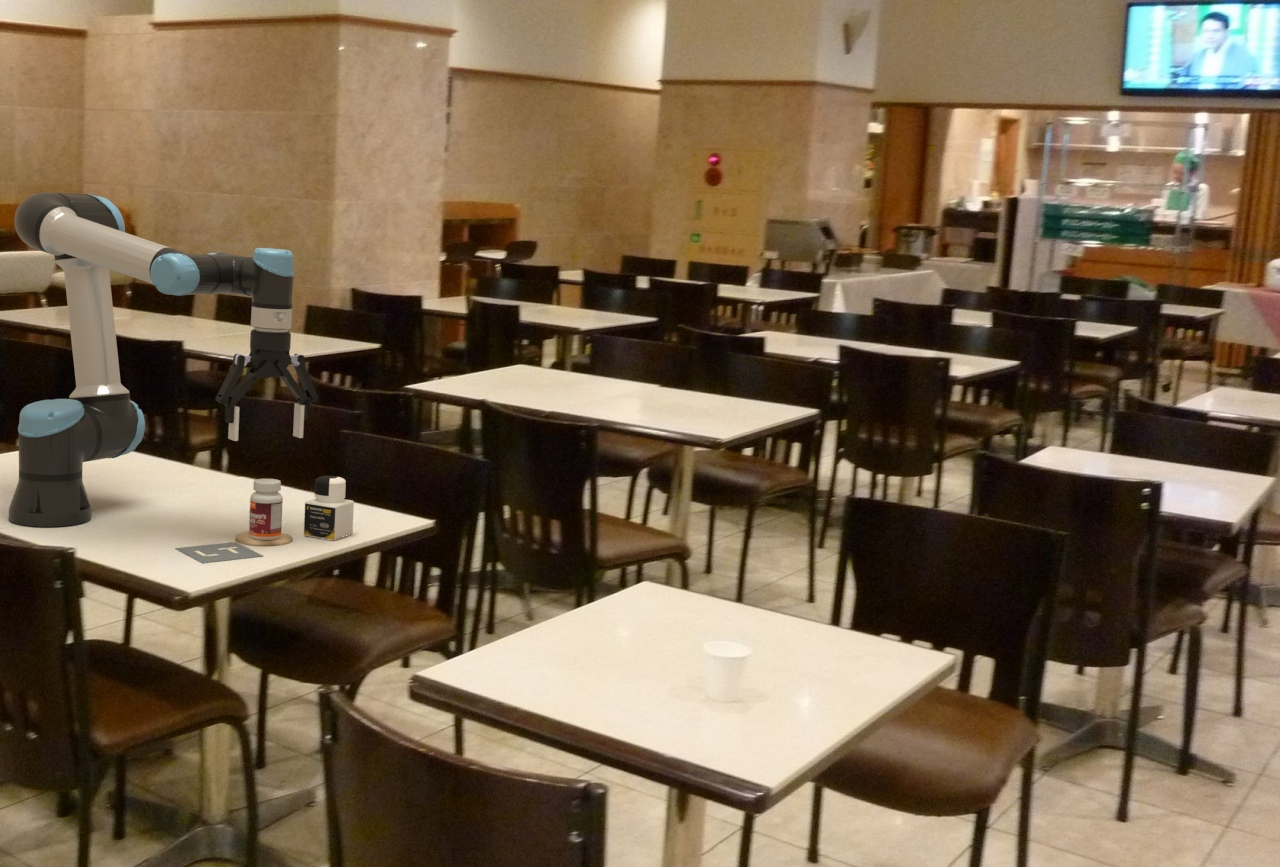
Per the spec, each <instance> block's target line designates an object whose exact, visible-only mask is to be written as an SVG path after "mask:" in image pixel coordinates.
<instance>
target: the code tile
mask: <svg viewBox="0 0 1280 867" xmlns="http://www.w3.org/2000/svg"><path fill="white" fill-rule="evenodd" d="M174 549H175V550H177V551H178V552H180V553H182V554H183V555H185V556H188V557H189V558H191V559H193V560H195V561H196V562H198V563H200V564H209V563H210V564H211V563H219V562H228V561H237V560H238V561H239V560H246V559H254V558H263V557H264V555H262V554H261V553H258V552H256V551H254V550H252V549H250V548H248V547H246V546H245V545H244V544H241V543H239V542H237V541H231V542H222V543H212V544H211V543H210V544H202V545H192V546H183V547H175V548H174Z"/></svg>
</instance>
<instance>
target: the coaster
mask: <svg viewBox="0 0 1280 867" xmlns="http://www.w3.org/2000/svg"><path fill="white" fill-rule="evenodd" d="M293 540H294V537H293V535H291V534H288V533H285V532H282V531H281V537H280V538H278V539H274V540H256V539H253V538H251V537H250V536H249V531H245V532H240V533H238V534H236V535H235V536H234V542H236V543H238V544H241V545H246V546H253V547H254V546H255V547H275V546H282V545H287V544H290V543H292V542H293Z"/></svg>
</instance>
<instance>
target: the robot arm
mask: <svg viewBox="0 0 1280 867" xmlns="http://www.w3.org/2000/svg"><path fill="white" fill-rule="evenodd" d="M13 223H14V228H15V231H16V233H17V236H18V237H19V239H20V240H21V241H22V242H23V243H24V244H26V246H28V247H30V248H32V249H34V250H36V251H40V252H43V253H46V254H49V255H51V256H52V255H53V256H54V264H56V265H57V266H59V267H60V268H61V269H62V270H63V273H64V274H63V275H64V284H65V291H66V302H67V313H68V321H69V330H70V340H71V349H72V358H73V367H74V376H75V389H73V391H72V392H71V393H70V395H69V397H68V398H55V399H43V400H39V401H38V400H37V401H35V402H32V403H29V404H27V405H25V406H24V407H23V408H21V410H20V413H19V422H18V423H19V424H18V426H17V431H18V482H17V485H16V488H15V491H14V493H13V496H12V499H11V501H10V504H9V507H8V521H10V522H11V523H13V524H17V525H21V526H26V527H27V526H28V527H38V528H39V527H40V528H41V527H43V528H45V527H46V528H48V527H51V528H53V527H67V526H75V525H81V524H83V523H84V524H85V523H86V522H89V521H90V520H91V519H92V505H91V502H90V500H89V497H88V493H87V491H86V488H85V484H84V482H83V463H87V462H93V461H98V460H99V461H100V460H103V459H115V458H119V457H121V456H124V455H128V454H130V453H132V452H133V451H134V450H136V448H137V447H138V445H140V443H141V442H142V440H143V438H144V435H145V429H146V422H145V415H144V413H143V410H142V409H140V408H139V404H137V403H136V402H135V401H133V400H131V393H130V390H129V389H127V388H126V387H125V386H124V385H123V384H122V383H121V382H122V381H121V374H120V364H119V362H120V361H119V354H118V353H119V352H118V345H117V343H118V342H117V334H116V333H117V332H116V326H115V316H114V315H115V314H114V306H113V296H112V286H111V285H112V284H111V276H110V270H112V271H115V272H117V273H120V274H123V275H126V276H128V277H132V278H135V279H137V280H140V281H142V282H147V283H149V284H152V285H153V286H154V287H155V288H156V290H157V291H158V292H159V293H161V294H164V295H172V296H176V297H177V296H178V297H181V296H189V295H190V296H191V295H192V296H193V295H224V294H226V295H228V294H229V295H231V294H232V295H238V296H239V295H241V296H248V297H251V313H250V315H251V316H250V326H251V327H252V328H253V329H251V331H250V333H249V334H250V336H249V340H250V341H249V350H250V351H249V354H248V355H243V354H240V353H235V354H234V355H233V359H232V365H231V367H230V369H229V371H228V373H227V375H226V377H225V378H224V381H223V382H222V385H221V386H220V389H219V390H218V392H217V394H216V396H215V401H216V402H218V403H219V404H223V406H224V421H225V422H226V423H227V424H228V432H227V433H228V434H227V435H228V436H227V439H229V440H231V441H234V442H238V441H239V430H240V429H239V428H240V427H239V425H240V406H237V404H238V403H239V402H240V400H242V398H243V397H244V396H245V395H246V393H247V392H248V391H249V390H250V388H252V386H253V385H254V383H256V382H257V381H258V380H259V379H260V378H262V379H269V378H273V379H279V378H280V379H281V380H282V381H283V383H284V384H285V385H286V387H287V388H288V389H289V390H290V392H291V394H292V395H293V396H294V397H295V399H296V400H297V401H298V402H297V403H294V408H293V426H292V428H293V429H292V431H293V432H292V436H293V437H295V438H298V439H303V438H304V428H305V421H307V420H308V417H309V406H311V405H312V403H313V402H317V401H318V400H319V397H318V395H317V392H316V389H315V386H314V384H313V381H312V379H311V377H310V374H309V372H308V369H307V367H306V359H305V358H306V357H305V355H304V354H300V353H294V354H293V355H290V354H291V353H290V351H291V338H292V333H291V332H290V331H289V330H290V329H292V319H293V303H292V302H293V291H294V280H295V268H294V267H295V263H294V262H295V261H294V260H295V257H294V254H293V252H292V251H291V250H288V249H282V248H271V247H257V248H255V250H253V251H254V252H253V256H245V255H238V254H231V253H225V252H210V253H207V254H205V253H203V254H202V253H201V254H200V253H199V254H198V253H187V252H185V251H181V250H178V249H174V248H172V247H170V246H167V245H164V244H159V243H158V242H155V241H151V240H149V239H146V238H142V237H140V236H136V235H133V234H131V233H128V232H126V225H125V220H124V218H123V214H122V213H121V211H120V209H119V208H118V207H117V206H116V205H115V204H113V202H112V201H110V200H109V199H107V198H106V197H103V196H99V195H92V194H90V193H69V192H66V193H65V192H53V191H44V192H37V193H34V194H30V196H28V197H26V198H25V199H23V200H22V202H20V203H19V205H18V207H17V208H16V211H15V214H14V222H13ZM290 364H291V365H292V366H293V367H294V370H295V372H296V375H297V377H298V380H299V382H300V385H301V387H302V388H301V387H300V386H299V384H298V383H297V381H296V380H295V379H294V377H293V374H291V372H290V371H289V369H288V367H289V366H290ZM247 365H250V367H249V369H248V370H247V371H246V372H245V375H244V377H243V378H242V379H241V380H240V381H239V379H240V377H241V375H242V373H243V372H244V367H246V366H247ZM238 381H239V382H238ZM237 383H238V384H237ZM236 384H237V385H236ZM302 389H303V390H302Z"/></svg>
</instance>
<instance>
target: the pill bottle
mask: <svg viewBox="0 0 1280 867" xmlns="http://www.w3.org/2000/svg"><path fill="white" fill-rule="evenodd" d="M281 481H282V480H279V479H275V478H258V479H257V478H256V479H255V480H253V486H252V488H253V491H255V492H252V494H251V495H250V500H249V524H248V532H249V536H250V537H251V538H253V539H256V540H274V539H278V538H280V537H281V532H282V522H283V498H284V497H283V495H282V494H281V493H280V491H281V490H282V487H281V486H282V482H281Z"/></svg>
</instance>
